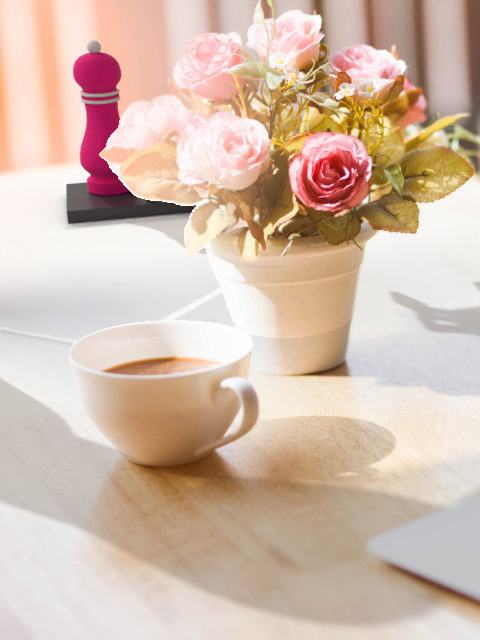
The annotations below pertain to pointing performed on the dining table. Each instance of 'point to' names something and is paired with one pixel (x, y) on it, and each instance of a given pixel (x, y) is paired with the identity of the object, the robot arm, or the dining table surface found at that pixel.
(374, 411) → the dining table surface
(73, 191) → the scale
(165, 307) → the dining table surface
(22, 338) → the dining table surface
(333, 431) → the dining table surface
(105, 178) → the pepper mill
